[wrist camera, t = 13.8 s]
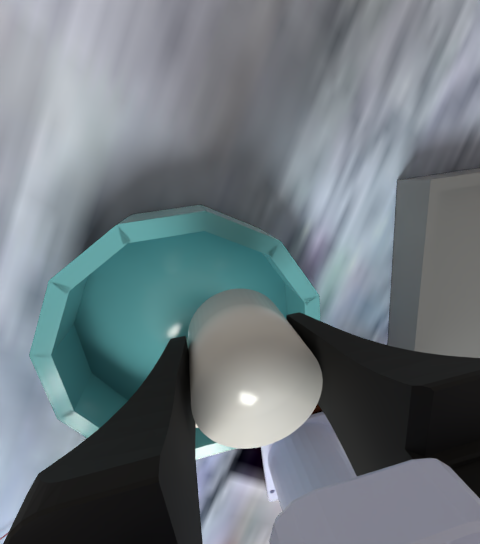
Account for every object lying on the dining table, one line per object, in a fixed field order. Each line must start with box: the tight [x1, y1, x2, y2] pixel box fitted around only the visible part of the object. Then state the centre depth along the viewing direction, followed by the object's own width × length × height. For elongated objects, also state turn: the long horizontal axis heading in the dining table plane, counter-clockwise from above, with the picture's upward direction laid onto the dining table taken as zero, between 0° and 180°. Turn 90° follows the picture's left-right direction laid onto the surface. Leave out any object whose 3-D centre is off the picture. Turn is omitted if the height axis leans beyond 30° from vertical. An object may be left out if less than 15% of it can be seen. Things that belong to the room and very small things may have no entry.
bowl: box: [29, 205, 320, 460], centre depth 19 cm, size 17×17×4 cm
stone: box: [188, 289, 323, 449], centre depth 11 cm, size 4×4×4 cm
